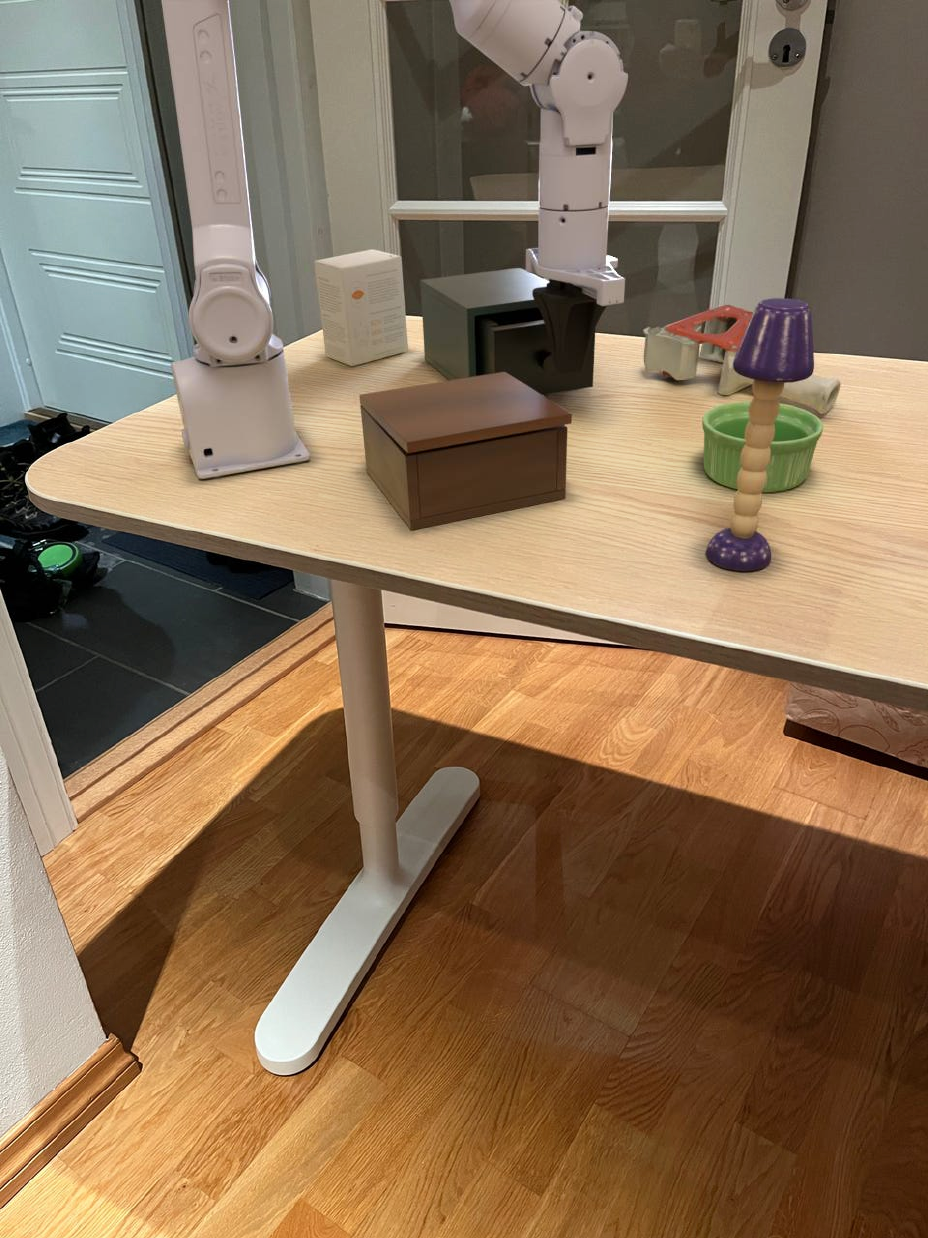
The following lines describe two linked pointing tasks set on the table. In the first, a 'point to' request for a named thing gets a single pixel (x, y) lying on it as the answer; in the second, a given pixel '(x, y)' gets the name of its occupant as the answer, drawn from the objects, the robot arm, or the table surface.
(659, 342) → the tape dispenser
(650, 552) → the table surface
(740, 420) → the ramekin
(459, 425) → the box lid
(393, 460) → the box
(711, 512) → the table surface
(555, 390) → the drawer
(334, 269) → the small box
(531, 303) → the cabinet
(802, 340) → the toy lamp
